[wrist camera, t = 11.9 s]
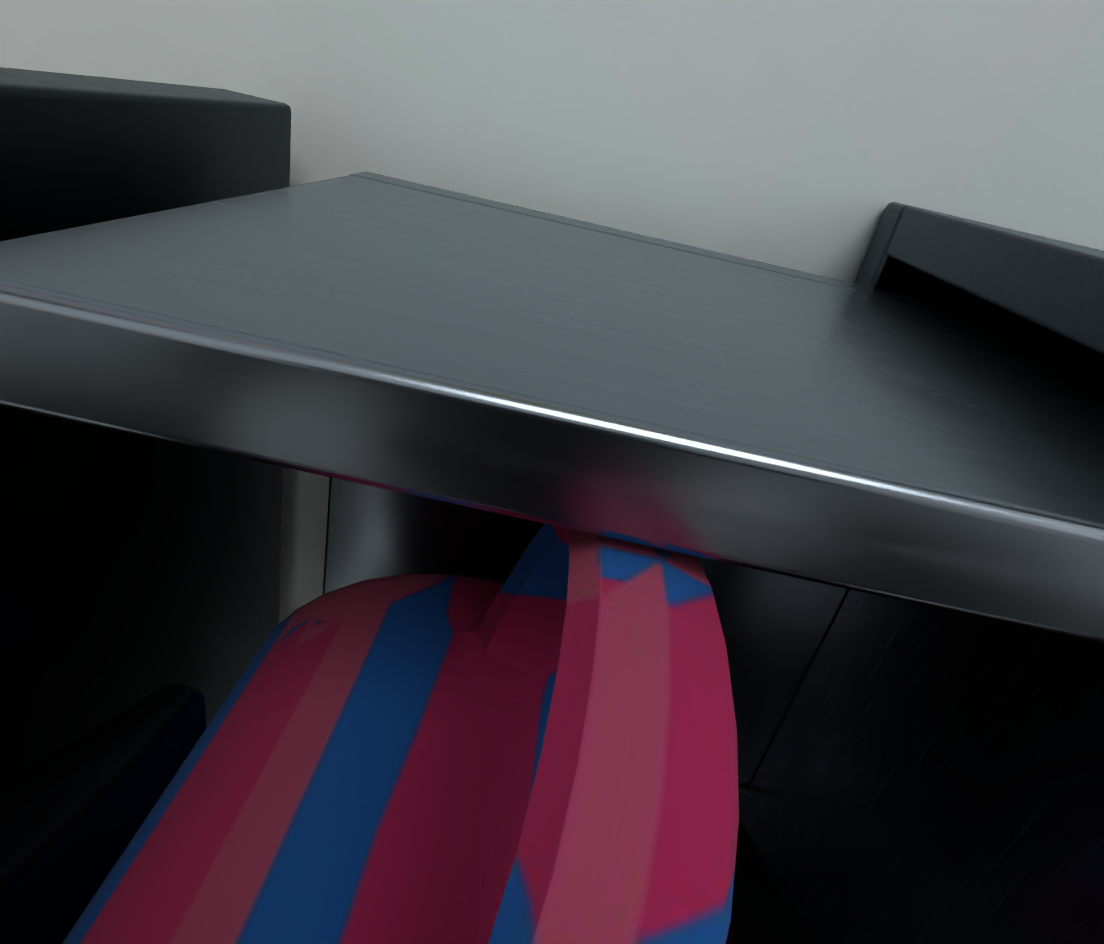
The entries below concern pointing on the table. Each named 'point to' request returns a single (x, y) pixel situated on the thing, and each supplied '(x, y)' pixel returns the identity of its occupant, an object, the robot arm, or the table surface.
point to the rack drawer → (556, 482)
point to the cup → (458, 769)
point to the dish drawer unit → (992, 274)
